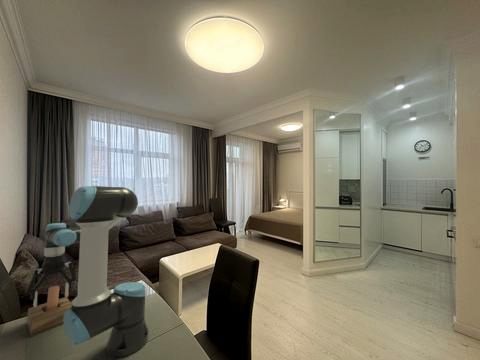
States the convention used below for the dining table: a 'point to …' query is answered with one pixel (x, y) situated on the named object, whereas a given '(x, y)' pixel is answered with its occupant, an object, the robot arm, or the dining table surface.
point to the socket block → (46, 316)
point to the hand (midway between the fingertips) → (51, 301)
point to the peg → (52, 298)
